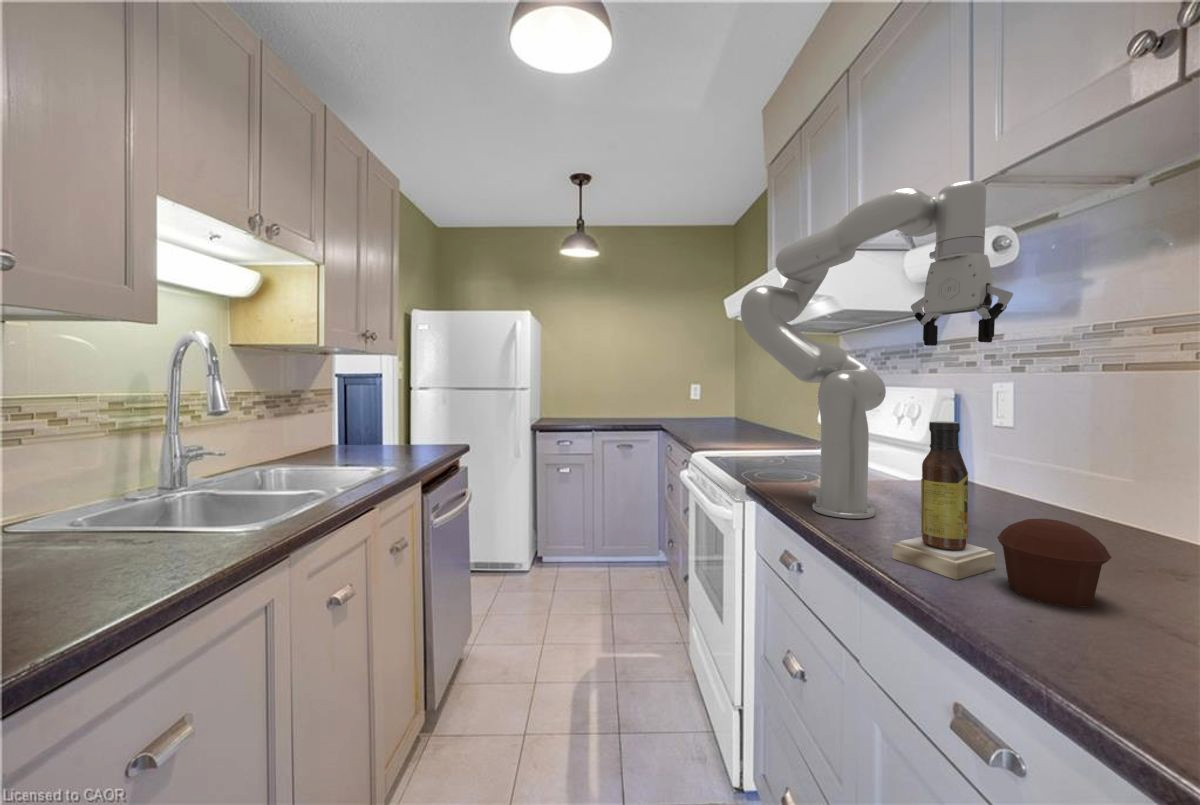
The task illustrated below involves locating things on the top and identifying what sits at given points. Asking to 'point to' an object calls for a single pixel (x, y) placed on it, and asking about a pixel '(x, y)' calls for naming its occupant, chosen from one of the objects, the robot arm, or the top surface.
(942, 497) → the sauce bottle
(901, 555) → the birch riser
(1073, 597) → the muffin
